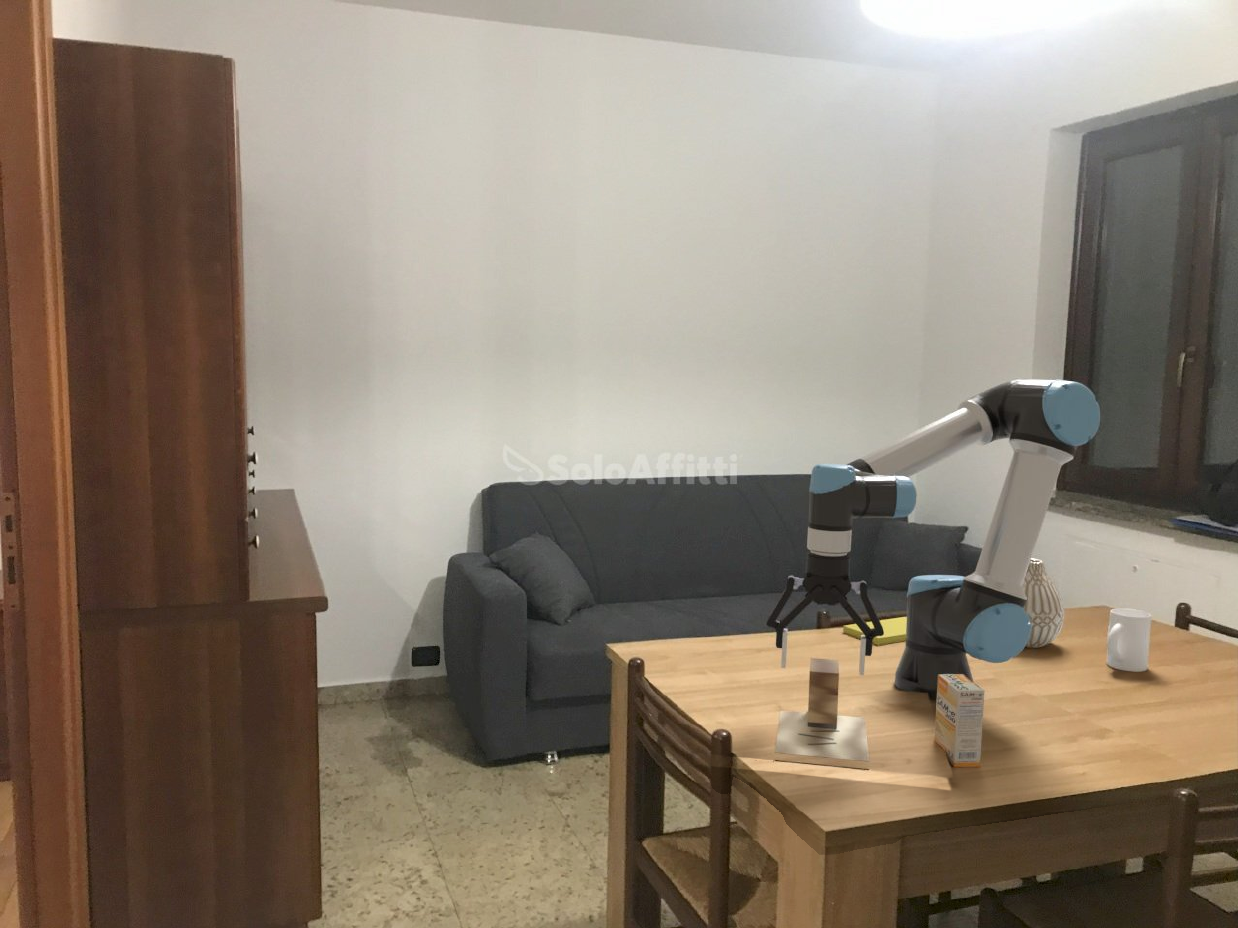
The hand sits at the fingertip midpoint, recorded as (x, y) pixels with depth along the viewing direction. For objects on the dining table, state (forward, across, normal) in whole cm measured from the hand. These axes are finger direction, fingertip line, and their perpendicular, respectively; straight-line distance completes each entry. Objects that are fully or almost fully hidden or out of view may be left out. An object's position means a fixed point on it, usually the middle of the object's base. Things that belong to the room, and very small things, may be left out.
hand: (822, 669), depth 174 cm
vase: (+10, -48, -68) cm, 84 cm away
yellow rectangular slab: (+11, -18, -69) cm, 73 cm away
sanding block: (+9, 0, 0) cm, 9 cm away
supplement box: (+11, -22, +8) cm, 26 cm away
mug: (+10, -64, -53) cm, 84 cm away
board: (+11, 0, +7) cm, 13 cm away
